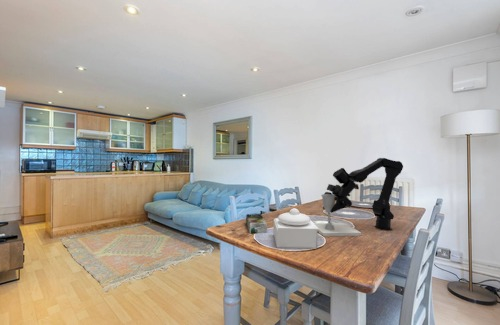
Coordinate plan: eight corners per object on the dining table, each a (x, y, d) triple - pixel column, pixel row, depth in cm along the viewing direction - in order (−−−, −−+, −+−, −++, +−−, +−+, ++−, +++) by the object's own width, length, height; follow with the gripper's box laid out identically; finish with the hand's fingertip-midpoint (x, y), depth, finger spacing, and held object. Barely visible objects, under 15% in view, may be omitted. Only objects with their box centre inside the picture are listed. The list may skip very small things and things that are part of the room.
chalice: (338, 227, 125) (337, 194, 124) (334, 231, 119) (332, 196, 119) (325, 225, 129) (324, 193, 129) (320, 229, 124) (319, 195, 124)
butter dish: (273, 235, 118) (273, 204, 118) (309, 236, 117) (309, 204, 117) (276, 248, 100) (277, 211, 100) (318, 249, 100) (319, 212, 100)
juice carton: (268, 233, 120) (268, 222, 120) (249, 234, 119) (249, 222, 119) (261, 223, 140) (261, 213, 140) (245, 224, 139) (245, 214, 139)
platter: (344, 225, 136) (344, 223, 136) (361, 235, 118) (361, 232, 118) (311, 226, 135) (311, 223, 135) (323, 236, 117) (323, 233, 117)
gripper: (327, 177, 134) (309, 197, 132) (347, 180, 116) (326, 203, 113) (339, 191, 135) (321, 210, 133) (360, 195, 117) (341, 218, 115)
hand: (327, 210), depth 124 cm, fingers open, 7 cm apart
